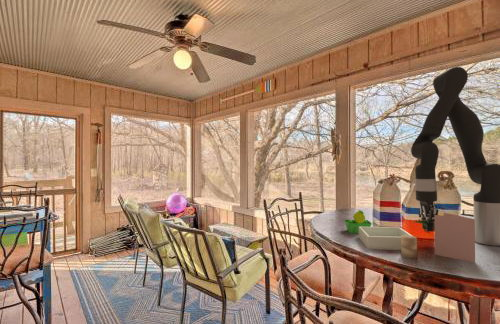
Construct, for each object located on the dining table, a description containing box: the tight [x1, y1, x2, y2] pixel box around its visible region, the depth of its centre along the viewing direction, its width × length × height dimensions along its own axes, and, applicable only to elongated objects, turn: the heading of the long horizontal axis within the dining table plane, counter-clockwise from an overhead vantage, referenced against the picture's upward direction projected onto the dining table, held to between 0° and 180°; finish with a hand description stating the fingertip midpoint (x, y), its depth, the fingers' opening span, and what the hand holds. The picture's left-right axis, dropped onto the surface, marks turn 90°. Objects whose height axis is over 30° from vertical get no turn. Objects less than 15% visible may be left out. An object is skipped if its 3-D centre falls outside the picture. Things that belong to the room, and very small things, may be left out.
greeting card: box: [434, 212, 476, 263], centre depth 95 cm, size 11×7×15 cm, turn 12°
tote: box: [358, 226, 413, 251], centre depth 112 cm, size 18×16×5 cm
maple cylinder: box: [400, 235, 418, 260], centre depth 97 cm, size 5×5×7 cm
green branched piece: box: [413, 214, 435, 234], centre depth 111 cm, size 3×12×8 cm, turn 89°
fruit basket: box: [344, 210, 372, 234], centre depth 130 cm, size 11×9×11 cm
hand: (427, 229), depth 111 cm, fingers closed on green branched piece, 3 cm apart
